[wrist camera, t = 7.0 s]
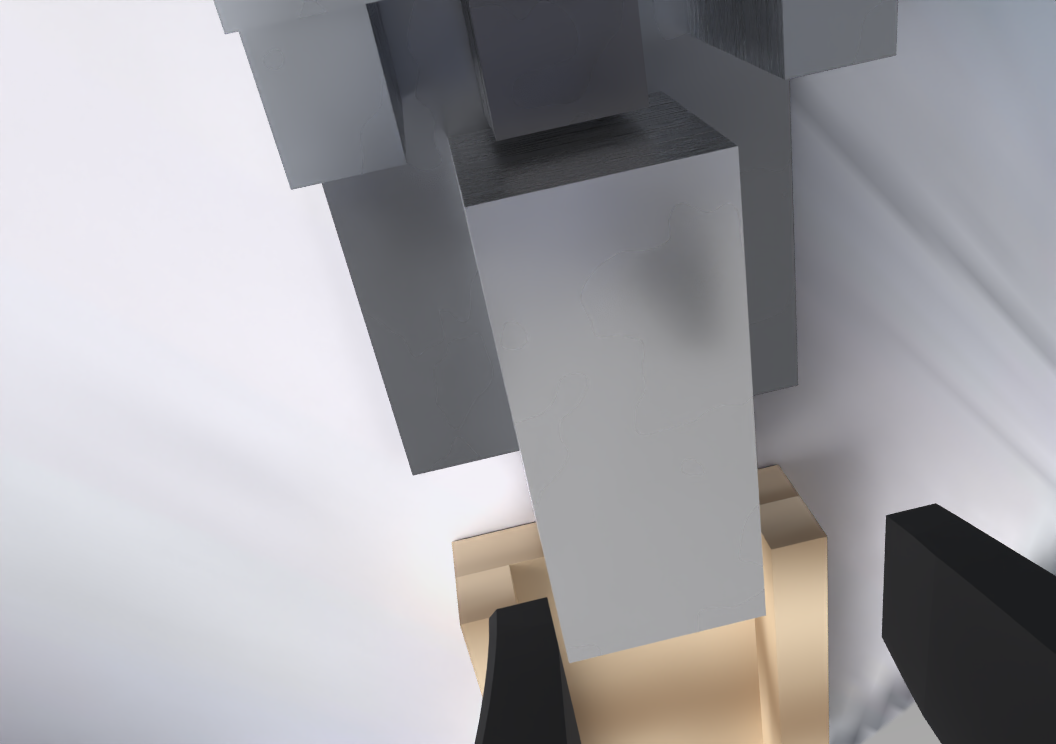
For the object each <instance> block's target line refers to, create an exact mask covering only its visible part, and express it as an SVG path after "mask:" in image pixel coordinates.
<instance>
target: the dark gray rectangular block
mask: <svg viewBox="0 0 1056 744" xmlns="http://www.w3.org/2000/svg"><path fill="white" fill-rule="evenodd" d="M461 1H462V6H463V11H464V16H465V21H466V26H467V30H468V35H469V40H470V45H471V50H472V55H473V60H474V65H475V69H476V74H477V79H478V84H479V89H480V94H481V99H482V104H483V109H484V113H485V116H486V119H487V121H488V123H489V126H490V128H491V130H492V132H493V135H494V137H495V139H496V141H500V140H504V139H509V138H513V137H518V136H522V135H527V134H531V133H536V132H540V131H545V130H549V129H554V128H558V127H563V126H567V125H572V124H576V123H581V122H585V121H590V120H594V119H599V118H603V117H608V116H612V115H617V114H621V113H626V112H630V111H635V110H639V109H644V108H648V107H649V99H648V90H647V81H646V72H645V63H644V54H643V44H642V35H641V26H640V17H639V8H638V0H461Z"/></svg>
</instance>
